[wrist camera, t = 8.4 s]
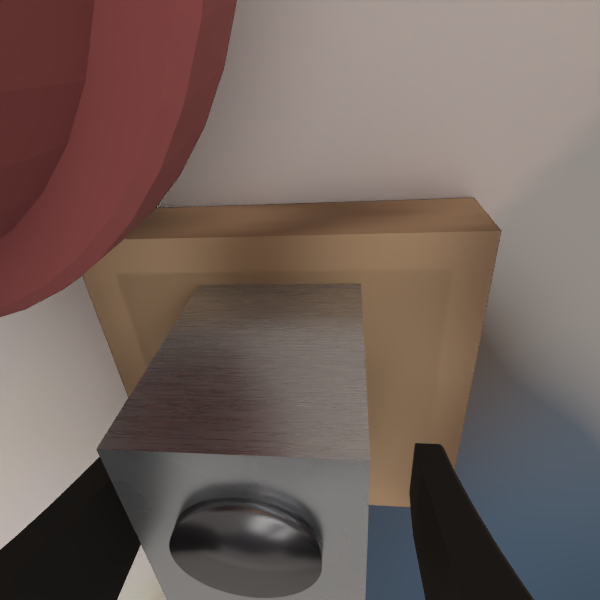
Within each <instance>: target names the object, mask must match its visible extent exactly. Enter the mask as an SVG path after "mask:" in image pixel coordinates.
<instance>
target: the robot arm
mask: <svg viewBox="0 0 600 600" xmlns="http://www.w3.org/2000/svg"><path fill="white" fill-rule="evenodd" d="M409 496H410V507H411V517H412V528H413V536H414V542H415V547H416V553H417V558H418V563H419V568H420V574H421V578H422V583H423V589H424V593H425V599H426V600H534V599H533V598H532V596H531V595H530V593H529V592H528V590H527V589H526V587H525V586H524V585H523V583H522V582H521V580H520V579H519V577H518V576H517V575H516V573H515V571H514V570H513V568H512V567H511V565H510V564H509V562H508V561H507V559H506V558H505V556H504V555H503V553H502V552H501V550H500V549H499V547H498V546H497V544H496V542H495V541H494V539H493V538H492V536H491V534H490V533H489V531H488V529H487V528H486V526H485V524H484V523H483V521H482V519H481V518H480V516H479V514H478V513H477V511H476V509H475V508H474V506H473V504H472V502H471V501H470V499H469V497H468V495H467V493H466V491H465V490H464V488H463V486H462V484H461V482H460V480H459V478H458V476H457V475H456V473H455V471H454V468H453V466H452V464H451V462H450V460H449V458H448V456H447V454H446V451H445V449H444V447H443V446H442V445H440V444H426V443H415V447H414V455H413V464H412V473H411V482H410V491H409ZM140 545H141V543H140V541H139V539H138V537H137V535H136V532H135V530H134V528H133V526H132V524H131V522H130V520H129V517H128V515H127V513H126V511H125V509H124V507H123V505H122V503H121V500H120V498H119V496H118V494H117V492H116V490H115V488H114V485H113V483H112V481H111V479H110V477H109V475H108V473H107V471H106V468H105V466H104V464H103V462H102V460H101V458H100V457H99V458H98V459H97V460H96V461H95V462H94V463H93V464H92V465H91V466H90V467H89V468H88V469H87V470H86V471H85V472H84V473H83V474H82V475H81V476H80V477H79V478H78V479H77V480H76V481H75V482H74V483H73V484H72V485H71V486H69V487H68V488H67V489H66V490H65V491H64V492H63V493H62V494H61V495H60V496H59V497H58V498H57V499H56V500H55V501H54V502H53V503H52V504H51V505H50V506H49V507H48V508H47V509H46V510H44V511H43V512H42V513H41V514H40V515H39V516H38V517H37V518H36V519H35V520H33V521H32V522H31V523H30V524H29V525H28V526H27V527H26V528H25V529H23V530H22V531H21V532H20V533H19V534H18V535H17V536H16V537H15V538H14V539H12V540H11V541H10V542H9V543H8V544H7V545H5V546H4V547H3V548H2V549H1V550H0V600H117V598H118V596H119V594H120V591H121V589H122V587H123V584H124V582H125V580H126V577H127V575H128V573H129V570H130V568H131V566H132V564H133V561H134V559H135V557H136V554H137V552H138V550H139V547H140Z"/></svg>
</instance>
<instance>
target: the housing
mask: <svg viewBox="0 0 600 600" xmlns="http://www.w3.org/2000/svg"><path fill="white" fill-rule="evenodd" d="M97 451H98V454H99V456H100V458H101V460H102V462H103V464H104V466H105V468H106V471H107V473H108V475H109V477H110V479H111V481H112V483H113V485H114V488H115V490H116V492H117V494H118V496H119V498H120V500H121V503H122V505H123V507H124V509H125V511H126V513H127V515H128V517H129V520H130V522H131V524H132V526H133V528H134V530H135V532H136V535H137V537H138V539H139V541H140V543H141V545H142V547H143V549H144V552H145V554H146V556H147V558H148V560H149V562H150V564H151V566H152V569H153V571H154V573H155V575H156V577H157V579H158V581H159V584H160V586H161V588H162V590H163V592H164V594H165V596H166V598H167V600H365V591H366V564H367V538H368V510H369V508H368V507H369V482H370V446H369V426H368V407H367V388H366V369H365V350H364V331H363V312H362V292H361V283H333V284H199V286H198V287H197V289H196V290H195V292H194V294H193V295H192V297H191V298H190V300H189V302H188V303H187V305H186V306H185V308H184V310H183V311H182V313H181V314H180V316H179V318H178V319H177V321H176V322H175V324H174V326H173V327H172V329H171V330H170V332H169V334H168V335H167V337H166V339H165V340H164V342H163V343H162V345H161V347H160V348H159V350H158V351H157V353H156V355H155V356H154V358H153V359H152V361H151V363H150V364H149V366H148V367H147V369H146V371H145V372H144V374H143V375H142V377H141V379H140V380H139V382H138V383H137V385H136V387H135V388H134V390H133V391H132V393H131V395H130V396H129V398H128V399H127V401H126V403H125V404H124V406H123V407H122V409H121V411H120V412H119V414H118V415H117V417H116V419H115V420H114V422H113V423H112V425H111V427H110V428H109V430H108V432H107V433H106V435H105V436H104V438H103V440H102V441H101V443H100V444H99V446H98V448H97Z"/></svg>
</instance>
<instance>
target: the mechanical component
mask: <svg viewBox="0 0 600 600" xmlns="http://www.w3.org/2000/svg"><path fill="white" fill-rule="evenodd" d="M236 2H237V0H0V317H2V316H5V315H9V314H12V313H15V312H18V311H21V310H25V309H27V308H29V307H31V306H33V305H34V304H36V303H38V302H40V301H42V300H44V299H46V298H48V297H50V296H52V295H53V294H55V293H57V292H59V291H61V290H63V289H64V288H66V287H67V286H69V285H70V284H71V283H73V282H74V281H76V280H77V279H78V278H80V277H81V276H82V275H83V274H84V273H85V272H87V271H88V270H89V269H90V268H91V267H92V266H94V265H95V264H96V263H97V262H98V261H99V260H100V259H102V258H103V257H104V256H105V255H106V254H107V253H109V252H110V251H111V250H112V249H113V248H114V247H115V246H117V245H118V244H119V243H120V242H121V241H122V240H123V239H125V238H126V237H127V236H128V235H129V234H130V233H131V232H132V231H133V230H134V229H135V228H136V227H137V226H138V225H139V224H140V223H141V222H143V221H144V220H145V219H146V218H147V217H148V216H149V215H150V214H151V213H152V212H153V211H154V210H155V208H156V207H157V205H158V204H159V203H160V201H161V200H162V199H163V197H164V196H165V195H166V193H167V192H168V190H169V189H170V188H171V186H172V185H173V184H174V182H175V181H176V180H177V178H178V177H179V176H180V174H181V172H182V170H183V168H184V166H185V164H186V162H187V160H188V158H189V156H190V154H191V152H192V150H193V149H194V147H195V145H196V143H197V141H198V139H199V137H200V135H201V133H202V131H203V129H204V127H205V124H206V121H207V118H208V115H209V112H210V109H211V106H212V103H213V100H214V97H215V94H216V91H217V88H218V84H219V81H220V78H221V75H222V72H223V69H224V66H225V60H226V55H227V50H228V44H229V39H230V34H231V28H232V23H233V18H234V12H235V7H236Z"/></svg>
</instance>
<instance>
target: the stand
mask: <svg viewBox="0 0 600 600" xmlns="http://www.w3.org/2000/svg"><path fill="white" fill-rule="evenodd" d="M500 235H501V230H500V228H499V227H498V226H497V225H496V224H495V222H494V221H493V220H492V219H491V218H490V216H489V215H488V214H487V213H486V211H485V210H484V209H483V208H482V207H481V205H480V204H479V203H478V202H477V201H476V199H475V198H454V199H423V200H391V201H360V202H329V203H298V204H267V205H236V206H205V207H173V208H155V210H154V211H153V212H152V213H151V214H150V215H149V216H148V217H147V218H146V219H145V220H144V221H143V222H141V223H140V224H139V225H138V226H137V227H136V228H135V229H134V230H133V231H132V232H131V233H130V234H129V235H128V236H127V237H126V238H125V239H123V240H122V241H121V242H120V243H119V244H118V245H117V246H115V247H114V248H113V249H112V250H111V251H110V252H109V253H107V254H106V255H105V256H104V257H103V258H102V259H100V260H99V261H98V262H97V263H96V264H95V265H94V266H92V267H91V268H90V269H89V270H88V271H87V272H85V273H84V274H83V275H82V276H83V279H84V281H85V284H86V287H87V289H88V292H89V295H90V297H91V300H92V303H93V305H94V308H95V311H96V313H97V316H98V318H99V321H100V324H101V326H102V329H103V332H104V334H105V337H106V340H107V342H108V345H109V348H110V350H111V353H112V356H113V358H114V361H115V364H116V366H117V369H118V371H119V374H120V377H121V379H122V382H123V385H124V387H125V390H126V393H127V395H128V398H129V396H130V395H131V393H132V391H133V390H134V388H135V387H136V385H137V383H138V382H139V380H140V379H141V377H142V375H143V374H144V372H145V371H146V369H147V367H148V366H149V364H150V363H151V361H152V359H153V358H154V356H155V355H156V353H157V351H158V350H159V348H160V347H161V345H162V343H163V342H164V340H165V339H166V337H167V335H168V334H169V332H170V330H171V329H172V327H173V326H174V324H175V322H176V321H177V319H178V318H179V316H180V314H181V313H182V311H183V310H184V308H185V306H186V305H187V303H188V302H189V300H190V298H191V297H192V295H193V294H194V292H195V290H196V289H197V287H198V286H199V284H333V283H361V292H362V312H363V331H364V350H365V369H366V388H367V407H368V426H369V446H370V482H369V505H383V506H401V507H410V496H409V491H410V482H411V473H412V464H413V455H414V447H415V443H426V444H440V445H442V446H443V447H444V449H445V451H446V454H447V456H448V458H449V460H450V462H451V464H452V466H453V468H454V471H455V466H456V460H457V456H458V451H459V445H460V440H461V435H462V430H463V425H464V419H465V415H466V410H467V405H468V399H469V394H470V389H471V384H472V379H473V374H474V369H475V364H476V358H477V353H478V348H479V343H480V338H481V332H482V327H483V322H484V317H485V312H486V307H487V302H488V296H489V292H490V286H491V281H492V276H493V271H494V266H495V261H496V256H497V250H498V245H499V241H500Z"/></svg>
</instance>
